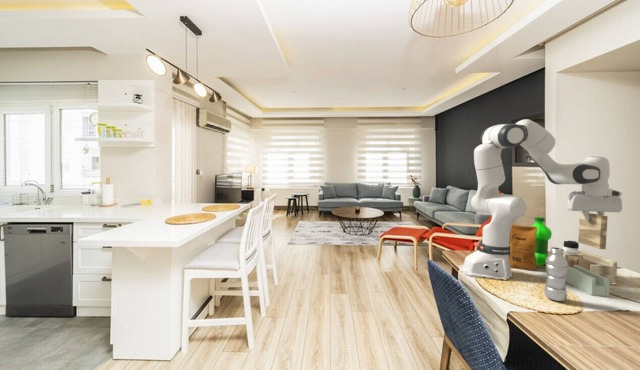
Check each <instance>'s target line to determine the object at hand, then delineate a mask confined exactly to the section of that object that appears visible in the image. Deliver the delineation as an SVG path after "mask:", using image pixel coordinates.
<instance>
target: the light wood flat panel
mask: <svg viewBox="0 0 640 370" xmlns="http://www.w3.org/2000/svg"><path fill="white" fill-rule="evenodd" d="M588 215H589V217H591V218H592V219H591V221H585V216H584V215H583V213H582V211H579V221H578V223H579V225H578V236H577V237H578V240H577V242H578V243H579V244H583V245H586V246H589V247H592V248H594V249H598V250H607V249H606V247H607V232H608V228H607V227H608V218H609V216H608V215H605V214H604V215H598V214H597V213H593V212H589V214H588Z"/></svg>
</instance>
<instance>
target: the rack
mask: <svg viewBox="0 0 640 370" xmlns="http://www.w3.org/2000/svg"><path fill="white" fill-rule="evenodd" d="M579 251H580V254H566V253H564V255H563V257H564V258H565V259H566V260H567V262H568V261H569V256H577V257H580V258H583V259H585V260H589V261H591V262H594V263H596V264H597V265H593V264H590V271H591V272H593V273H596V274H598V275H600V276H603V277H605V278H607V279H610V283H616V284H617V273H618V261H615V260H612V259H610V258H606V257H604V256H601V255H598V254H595V253H593V252H590V251H586V250H584V249H583V250H579Z"/></svg>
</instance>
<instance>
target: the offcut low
mask: <svg viewBox="0 0 640 370" xmlns="http://www.w3.org/2000/svg"><path fill="white" fill-rule="evenodd" d="M573 265H577V266H578V264H574V263H571V262H569V261H568V266H569V267H571V268H573Z"/></svg>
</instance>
